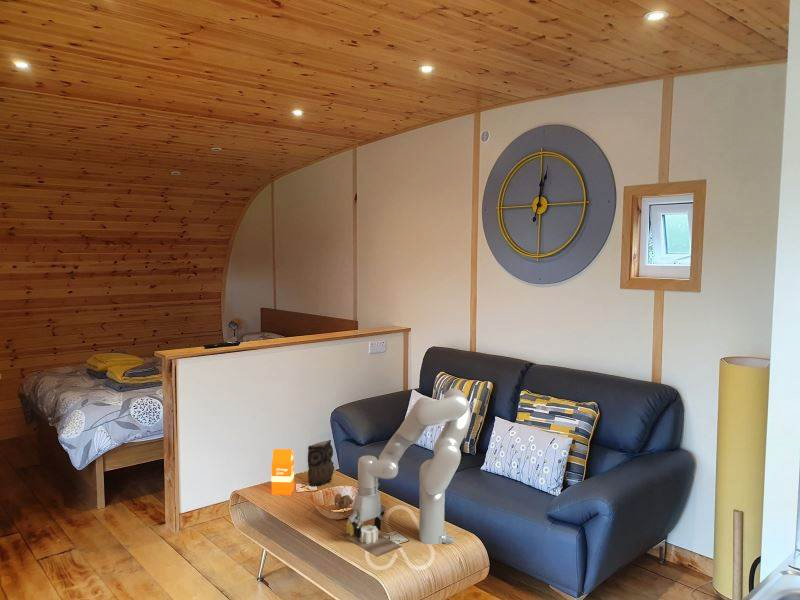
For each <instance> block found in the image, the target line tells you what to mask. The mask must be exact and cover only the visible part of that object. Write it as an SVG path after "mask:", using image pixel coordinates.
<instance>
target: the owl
mask: <svg viewBox="0 0 800 600" xmlns="http://www.w3.org/2000/svg"><path fill="white" fill-rule="evenodd" d="M331 442H332V440H331V439H329V440H326V441H321V442H317V443H314V444H312V445H309V446H308V447H307V449H308V450H307V469H308V470H307V471H308V472H307V480H308V485H309V487H312V488H313V487H321V486H325V485H326V484H330V483H331V481H332V479H333V475H334V469H335V466H334V464H335V463H334V462H333V460H332V458H333V456H334V450H333V449H334V448H333V446H332V444H331Z"/></svg>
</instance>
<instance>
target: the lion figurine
mask: <svg viewBox="0 0 800 600" xmlns="http://www.w3.org/2000/svg"><path fill="white" fill-rule="evenodd" d="M354 502H355V499H354V500H353V499H352V498H351V497H350V495H348V494H346V495H342V494H341V493H336V494H335V496H334V503H335V506H336V507H337V506H338V510H339V509H342V510H344V508H347V509H348V508H349V507H350V506H351V505H353V504H354Z"/></svg>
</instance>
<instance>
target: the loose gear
mask: <svg viewBox="0 0 800 600" xmlns="http://www.w3.org/2000/svg"><path fill="white" fill-rule="evenodd" d="M367 530H369V531H367ZM378 534H379V530H378V529H377V527H376V526H374V525H371V524H368V525H365V526H362V528H361V538H359V539H360V542H366V544H369V543H371V542H373V543H374V542H376V540H378Z"/></svg>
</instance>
